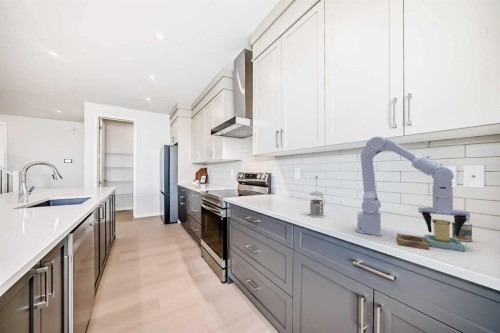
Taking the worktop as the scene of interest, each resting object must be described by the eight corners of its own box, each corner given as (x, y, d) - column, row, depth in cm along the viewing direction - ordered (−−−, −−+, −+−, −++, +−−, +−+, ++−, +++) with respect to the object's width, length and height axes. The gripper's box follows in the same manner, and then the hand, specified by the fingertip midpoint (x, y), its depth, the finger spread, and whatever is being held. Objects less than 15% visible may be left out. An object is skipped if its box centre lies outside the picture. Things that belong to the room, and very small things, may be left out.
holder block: (398, 244, 79) (398, 239, 79) (397, 238, 87) (397, 233, 87) (429, 249, 74) (428, 244, 74) (424, 242, 82) (424, 237, 82)
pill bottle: (451, 236, 89) (451, 213, 89) (470, 239, 85) (470, 215, 85) (453, 240, 84) (452, 215, 85) (473, 243, 81) (473, 218, 81)
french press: (305, 215, 130) (305, 176, 130) (317, 213, 136) (317, 175, 136) (318, 218, 121) (317, 176, 122) (330, 216, 128) (330, 176, 128)
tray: (429, 246, 78) (429, 240, 78) (424, 238, 86) (424, 234, 86) (464, 251, 73) (464, 246, 73) (456, 243, 81) (456, 238, 81)
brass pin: (433, 244, 79) (433, 221, 79) (431, 240, 83) (431, 218, 83) (451, 247, 76) (451, 223, 76) (448, 243, 80) (448, 220, 80)
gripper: (419, 198, 80) (420, 232, 80) (472, 201, 72) (473, 239, 72) (417, 196, 86) (417, 228, 86) (466, 198, 78) (466, 234, 78)
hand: (442, 233), depth 79 cm, fingers open, 7 cm apart
